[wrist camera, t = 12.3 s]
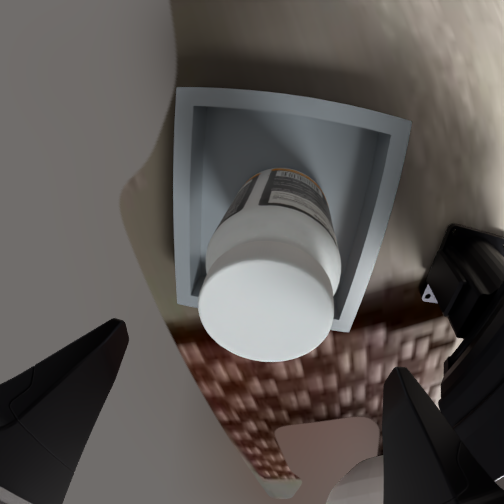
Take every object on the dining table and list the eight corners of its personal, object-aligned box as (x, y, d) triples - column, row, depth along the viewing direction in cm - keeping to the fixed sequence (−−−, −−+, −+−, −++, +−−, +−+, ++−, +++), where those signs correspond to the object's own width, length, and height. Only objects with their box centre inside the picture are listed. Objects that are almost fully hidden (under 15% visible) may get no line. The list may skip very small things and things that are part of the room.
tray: (395, 116, 15) (412, 121, 12) (344, 304, 22) (348, 332, 19) (195, 87, 16) (176, 87, 13) (190, 279, 23) (177, 303, 20)
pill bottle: (262, 261, 21) (234, 382, 12) (220, 188, 18) (150, 280, 10) (342, 231, 19) (367, 350, 10) (304, 148, 16) (308, 214, 8)
